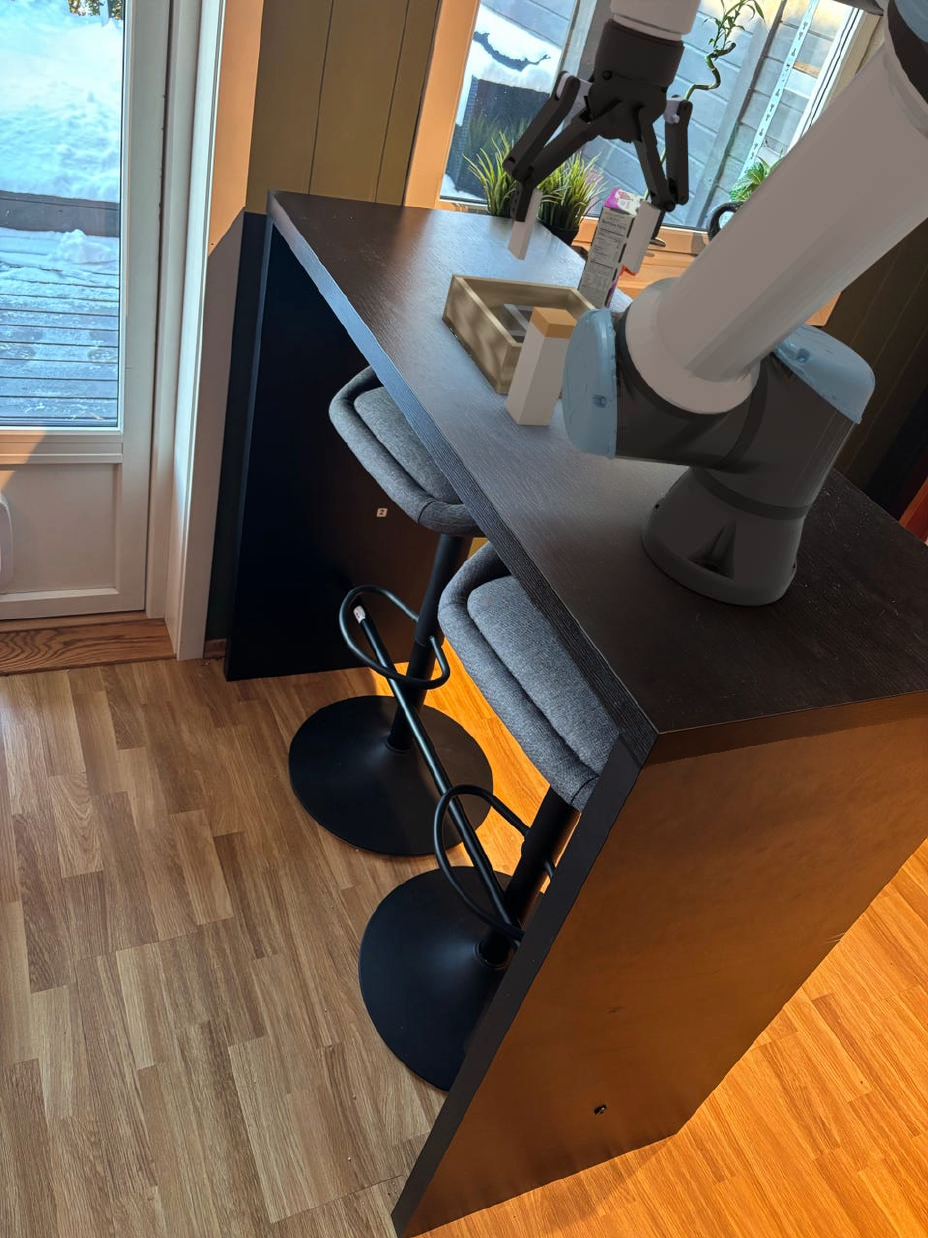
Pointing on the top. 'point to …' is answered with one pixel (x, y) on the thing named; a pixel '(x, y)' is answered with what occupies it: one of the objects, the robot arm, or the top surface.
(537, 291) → the walled box
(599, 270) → the candy bar box
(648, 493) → the top surface
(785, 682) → the top surface
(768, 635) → the top surface
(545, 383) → the plug
